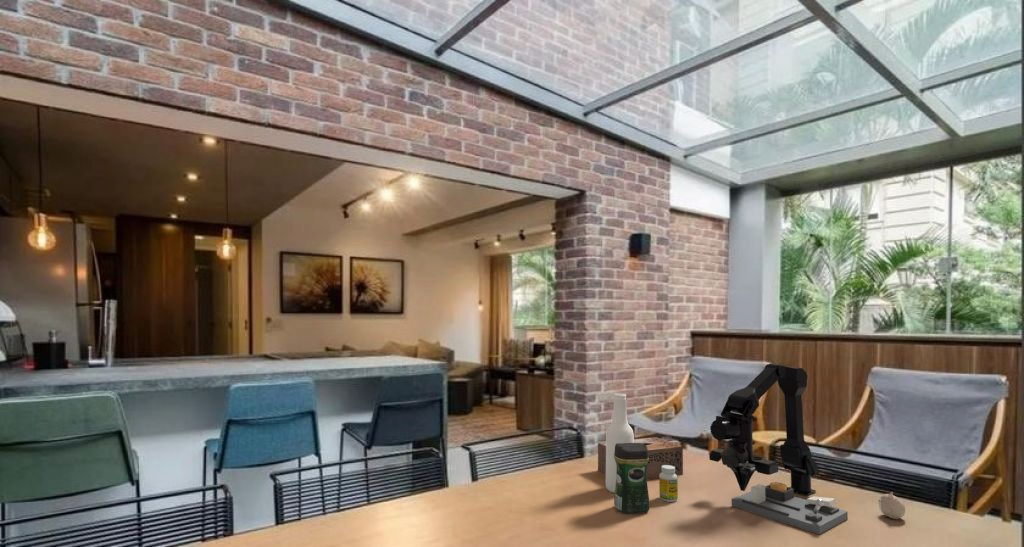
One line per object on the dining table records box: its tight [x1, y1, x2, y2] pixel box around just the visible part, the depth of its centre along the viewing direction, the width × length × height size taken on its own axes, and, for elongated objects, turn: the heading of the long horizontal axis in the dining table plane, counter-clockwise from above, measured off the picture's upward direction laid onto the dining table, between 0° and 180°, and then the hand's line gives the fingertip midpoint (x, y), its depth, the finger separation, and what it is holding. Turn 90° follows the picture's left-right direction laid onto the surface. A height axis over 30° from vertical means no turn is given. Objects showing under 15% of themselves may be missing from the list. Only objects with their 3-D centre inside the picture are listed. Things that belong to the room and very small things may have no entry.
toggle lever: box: [813, 499, 824, 514], centre depth 137 cm, size 2×2×4 cm
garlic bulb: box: [877, 491, 906, 520], centre depth 145 cm, size 7×6×8 cm
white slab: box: [806, 496, 837, 507], centre depth 145 cm, size 4×6×1 cm, turn 37°
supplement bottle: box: [658, 465, 679, 503], centre depth 156 cm, size 5×5×10 cm
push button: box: [769, 481, 788, 492], centre depth 155 cm, size 4×4×3 cm
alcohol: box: [605, 392, 635, 494], centre depth 165 cm, size 9×9×30 cm
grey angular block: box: [750, 483, 766, 504], centre depth 149 cm, size 5×2×4 cm, turn 127°
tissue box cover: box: [597, 436, 684, 481], centre depth 182 cm, size 26×14×10 cm, turn 114°
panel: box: [731, 484, 849, 535], centre depth 147 cm, size 18×24×4 cm
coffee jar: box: [613, 443, 651, 514], centre depth 148 cm, size 10×8×19 cm
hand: (742, 490), depth 153 cm, fingers closed
